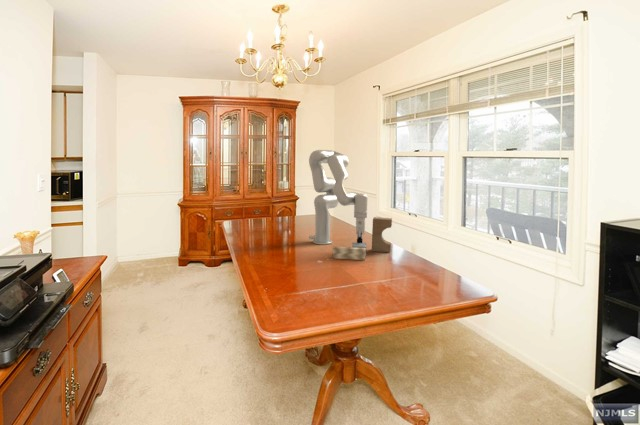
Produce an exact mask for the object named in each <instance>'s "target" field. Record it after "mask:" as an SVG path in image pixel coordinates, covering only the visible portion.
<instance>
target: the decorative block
mask: <svg viewBox="0 0 640 425" xmlns="http://www.w3.org/2000/svg"><path fill="white" fill-rule="evenodd" d="M392 226H393V218H392V217H376V216H373V218H372V230H371V231H372V232H371V251H372V252H377V253H379V252H380V253H391V248H392V243H391V242H389V241H387V240H386V239H384V236H383V232H384V231H385V230H386V229H390V228H391V229H392Z"/></svg>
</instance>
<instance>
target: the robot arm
mask: <svg viewBox="0 0 640 425" xmlns="http://www.w3.org/2000/svg"><path fill="white" fill-rule="evenodd" d="M308 163H309V168H310V171H311V177H312V183H313V188H314V189H313V190H314V191H315V192H317V193H325V194H319V195H317V196H316V197H315V198H314V199H313V204H314V210H315V224H314V225H315V234H314V235H308V239H309V240H312V242H313V244H316V245H320V246H321V245H331V244H333V240H332V239H330V238H331V214H330V211H329V209H334V208H337V207H338V206H339V205H341V206H344V207H345V206H347V207H348V206H354V207H353V208H354V209H353V211H354V212H353V218H355V231H356V232H355V235H357V236H356V243H363V236H364V235H365V232H366V219H367V217H368V195H367V194H365V193H358V192H355V191H353V192H352V191H351V192H346V190H345V188H344V182H345V181H346V180H347V179H348V177H349V174H348V172H347V170H346V168H347V167H348V166H349V158H348V157H347V155H345V154H344V153H340V152H337V151H335V150H332V149H330V150H329V149H316V150H313V151H312V152H311V153H310V155H309V158H308ZM322 164H327V165H328V167H329V169H330V172H331V175H332V177H333V178H332V177H326V176H327V175H326V172H325V171H326V170H325V169H324V167H323V165H322Z"/></svg>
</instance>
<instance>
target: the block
mask: <svg viewBox="0 0 640 425" xmlns="http://www.w3.org/2000/svg"><path fill="white" fill-rule="evenodd" d="M351 247H354V248H366V250H365V258H366V257H367V243H366V242H362V243H357V242H352V244H351Z"/></svg>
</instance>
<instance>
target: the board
mask: <svg viewBox="0 0 640 425" xmlns="http://www.w3.org/2000/svg"><path fill="white" fill-rule="evenodd" d="M365 250H366V251H367V247H366V248H354V247H352V246H333V247H332V259H340V260H341V259H342V260H355V261H356V260H357V261H358V260H359V261H365V260H366V257H365Z"/></svg>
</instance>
